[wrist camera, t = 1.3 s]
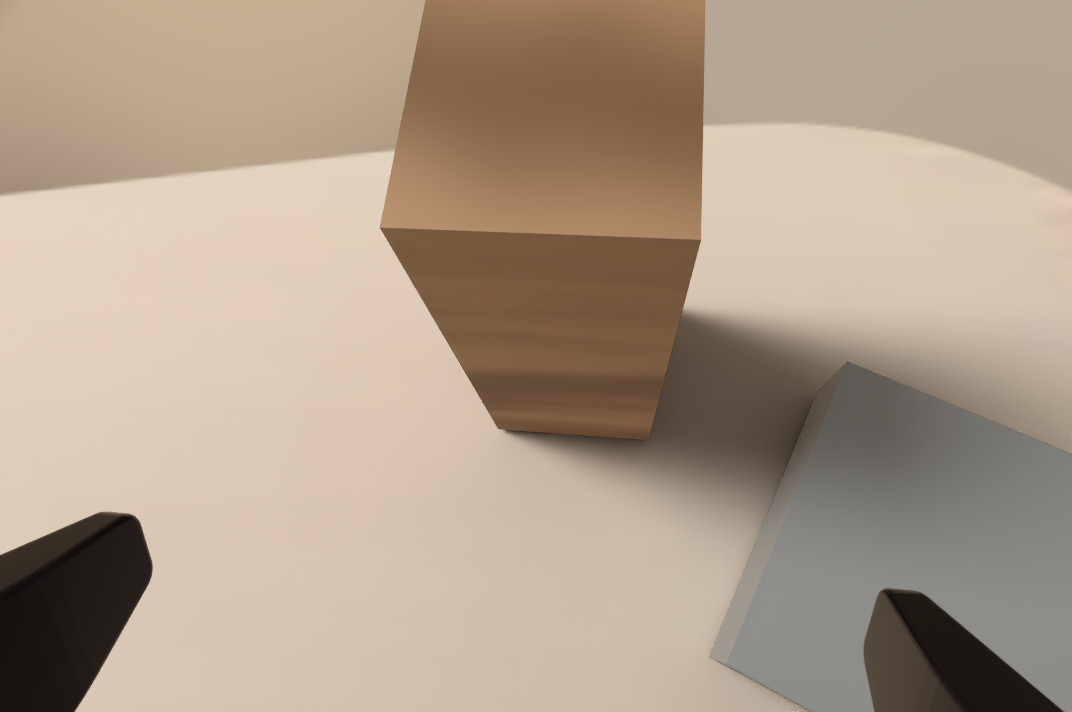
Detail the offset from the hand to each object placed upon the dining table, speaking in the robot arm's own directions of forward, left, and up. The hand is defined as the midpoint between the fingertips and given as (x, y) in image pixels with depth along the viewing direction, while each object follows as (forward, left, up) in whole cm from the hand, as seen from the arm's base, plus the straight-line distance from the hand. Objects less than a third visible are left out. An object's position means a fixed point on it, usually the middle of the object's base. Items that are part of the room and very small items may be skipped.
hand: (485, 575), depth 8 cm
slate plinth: (+5, -9, -14) cm, 17 cm away
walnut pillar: (+7, +3, -14) cm, 16 cm away
